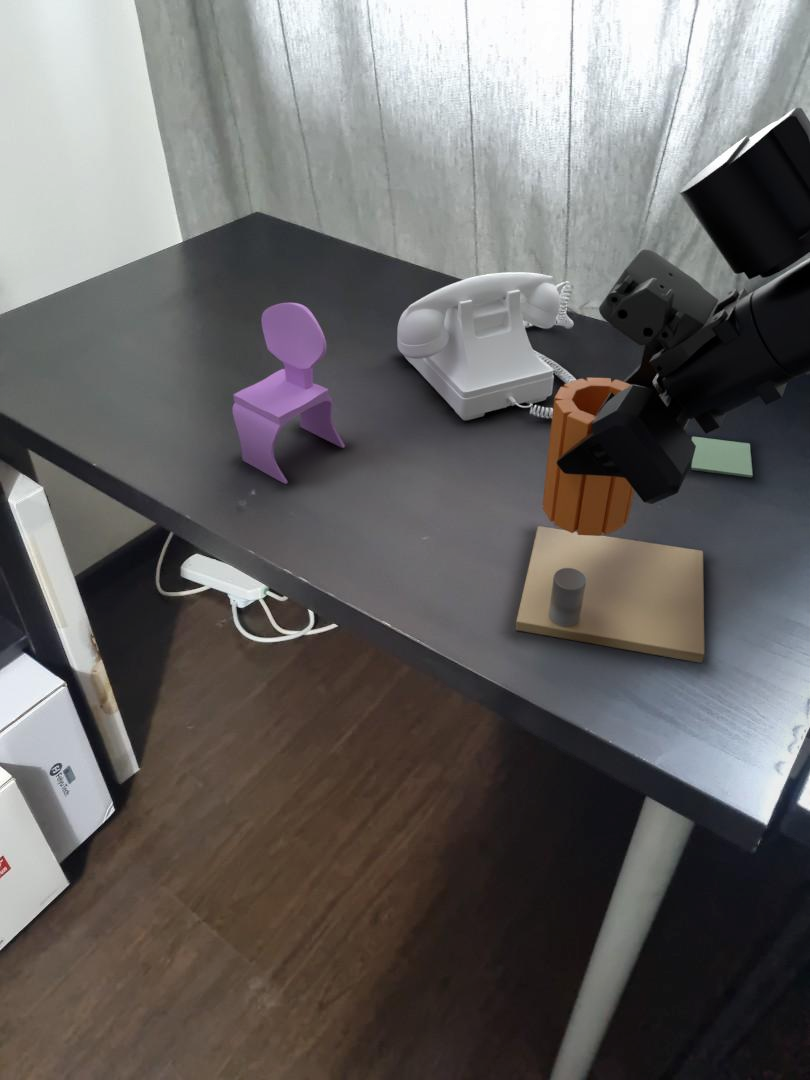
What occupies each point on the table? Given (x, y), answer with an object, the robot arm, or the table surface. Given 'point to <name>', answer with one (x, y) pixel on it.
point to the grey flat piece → (722, 457)
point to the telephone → (486, 341)
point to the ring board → (615, 594)
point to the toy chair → (285, 388)
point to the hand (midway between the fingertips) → (577, 442)
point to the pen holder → (583, 497)
